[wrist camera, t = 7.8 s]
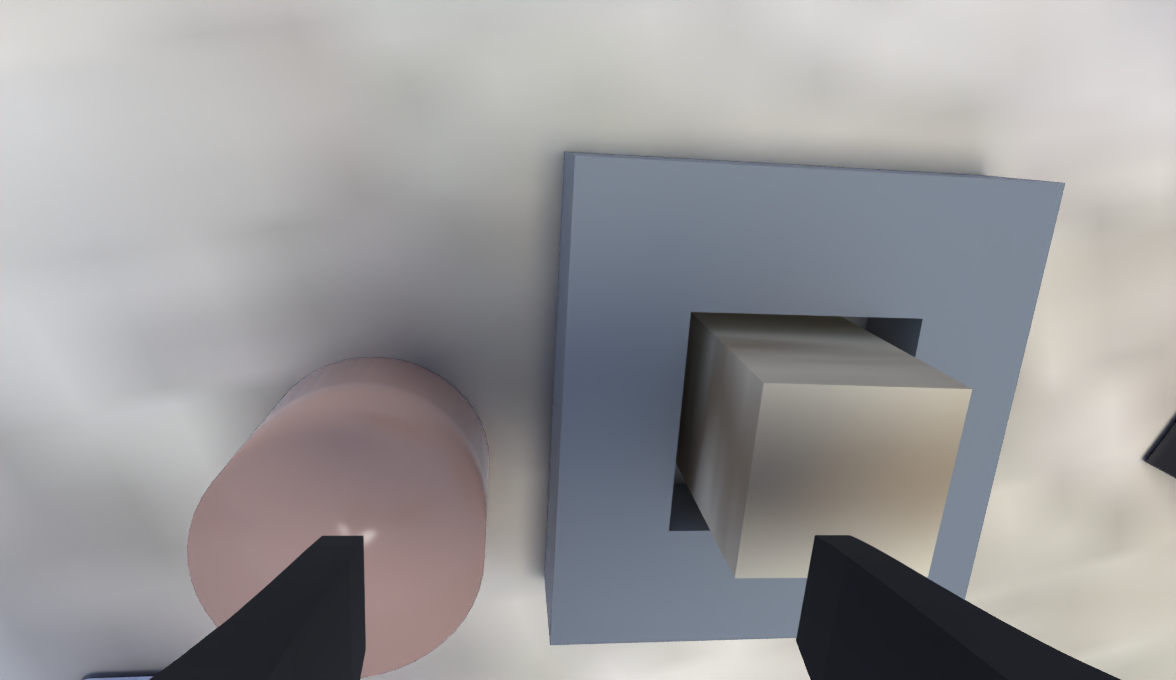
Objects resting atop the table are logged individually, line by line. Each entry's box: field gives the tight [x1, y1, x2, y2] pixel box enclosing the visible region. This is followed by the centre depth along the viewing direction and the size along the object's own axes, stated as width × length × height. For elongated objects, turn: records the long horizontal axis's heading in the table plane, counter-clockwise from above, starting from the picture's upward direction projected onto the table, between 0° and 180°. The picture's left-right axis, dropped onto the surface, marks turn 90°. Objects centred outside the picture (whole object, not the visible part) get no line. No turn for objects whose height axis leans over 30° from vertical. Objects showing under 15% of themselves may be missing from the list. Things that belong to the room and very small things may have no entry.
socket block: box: [545, 152, 1065, 645], centre depth 20 cm, size 13×12×3 cm
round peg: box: [187, 357, 489, 678], centre depth 18 cm, size 6×6×5 cm
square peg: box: [676, 312, 972, 578], centre depth 18 cm, size 4×4×6 cm
